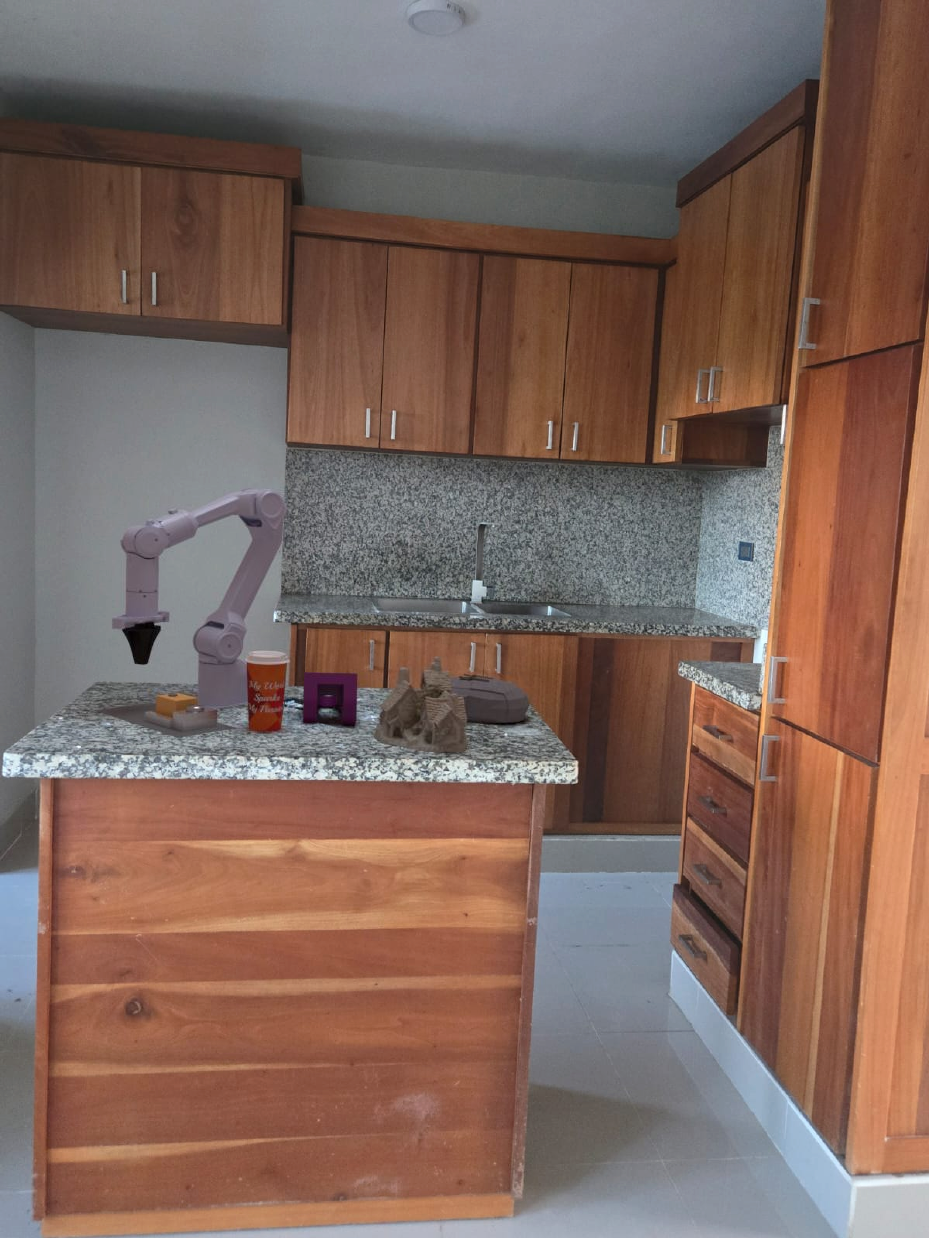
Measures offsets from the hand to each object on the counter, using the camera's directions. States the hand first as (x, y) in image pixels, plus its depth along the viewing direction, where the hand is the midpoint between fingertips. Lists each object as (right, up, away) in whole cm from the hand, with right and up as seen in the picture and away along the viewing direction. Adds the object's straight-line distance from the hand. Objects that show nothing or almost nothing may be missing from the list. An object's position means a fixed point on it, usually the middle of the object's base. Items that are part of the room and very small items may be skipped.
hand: (141, 663), depth 186 cm
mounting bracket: (+34, -11, +7) cm, 36 cm away
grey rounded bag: (+63, -12, +14) cm, 66 cm away
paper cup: (+25, -12, -8) cm, 28 cm away
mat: (+6, -10, -5) cm, 13 cm away
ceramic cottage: (+52, -14, -10) cm, 55 cm away
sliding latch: (+10, -10, -8) cm, 16 cm away
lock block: (+8, -10, -6) cm, 14 cm away
